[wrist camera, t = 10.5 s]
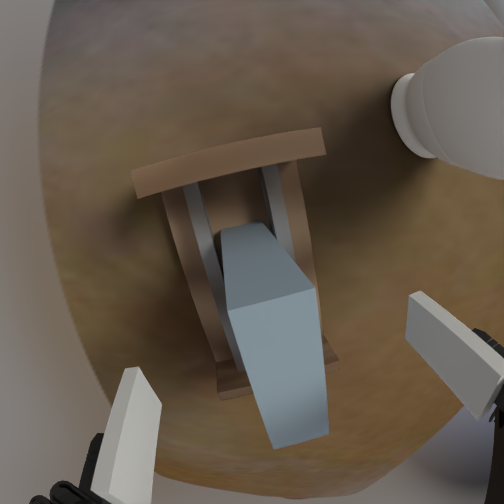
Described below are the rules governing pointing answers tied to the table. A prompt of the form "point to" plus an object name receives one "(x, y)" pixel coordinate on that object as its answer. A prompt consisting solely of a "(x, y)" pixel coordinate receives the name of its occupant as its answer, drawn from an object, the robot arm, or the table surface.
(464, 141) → the jar
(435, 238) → the table surface
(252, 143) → the wooden rod frame
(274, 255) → the blue-gray rectangular block
